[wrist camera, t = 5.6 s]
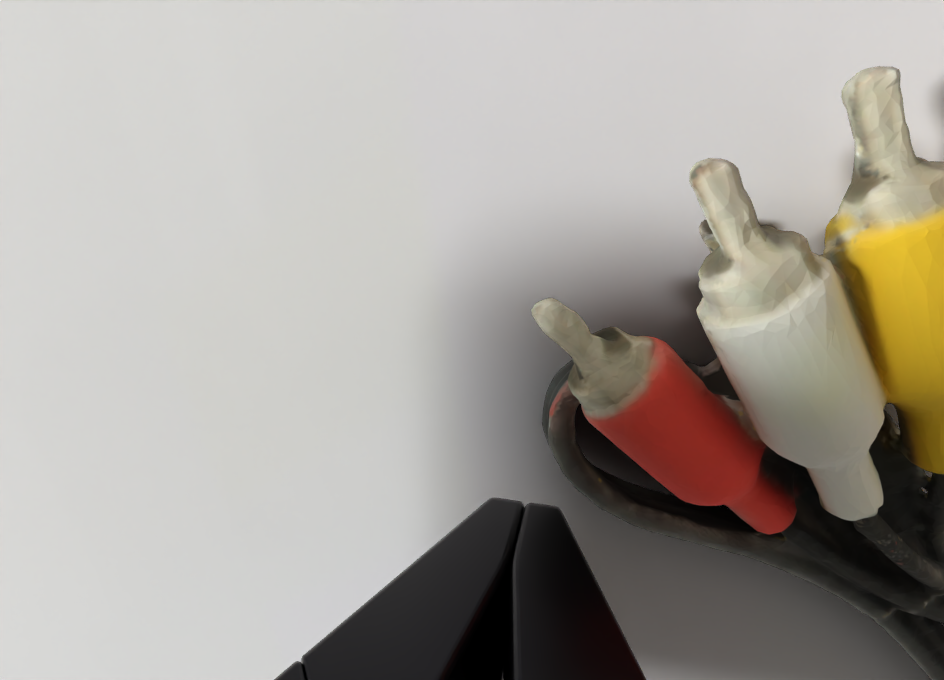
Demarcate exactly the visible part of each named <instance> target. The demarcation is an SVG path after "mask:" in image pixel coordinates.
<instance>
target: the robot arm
mask: <svg viewBox="0 0 944 680" xmlns="http://www.w3.org/2000/svg"><path fill="white" fill-rule="evenodd" d="M274 680H646V678H645V676H644V674H643V672H642V670H641V668H640V666H639V664H638V662H637V660H636V658H635V656H634V654H633V652H632V650H631V648H630V646H629V644H628V642H627V640H626V638H625V636H624V634H623V632H622V630H621V628H620V626H619V624H618V622H617V620H616V618H615V616H614V614H613V612H612V610H611V608H610V606H609V604H608V602H607V600H606V598H605V596H604V595H603V593H602V591H601V589H600V587H599V585H598V583H597V581H596V579H595V577H594V575H593V573H592V571H591V569H590V567H589V565H588V563H587V561H586V559H585V557H584V555H583V553H582V551H581V549H580V547H579V545H578V543H577V541H576V539H575V537H574V535H573V533H572V531H571V529H570V527H569V525H568V523H567V521H566V519H565V517H564V515H563V513H562V511H561V510H560V509H559V508H558V507H556V506H550V505H543V504H536V503H529V504H527V505H526V506H525V508H524V505H523V503H522V502H520V501H515V500H508V499H501V498H491V499H489V500H487V501H486V502H485V503H484V504H483V505H482V506H480V507H479V508H478V509H477V510H476V511H474V512H473V513H472V514H471V515H470V516H468V517H467V518H466V519H465V520H464V521H463V522H461V523H460V524H459V525H458V526H457V527H455V528H454V529H453V530H452V531H451V532H449V533H448V534H447V535H446V536H445V537H444V538H442V539H441V540H440V541H439V542H438V543H436V544H435V545H434V546H433V547H432V548H430V549H429V550H428V551H427V552H426V553H425V554H423V555H422V556H421V557H420V558H419V559H417V560H416V561H415V562H414V563H413V564H411V565H410V566H409V567H408V568H407V569H406V570H404V571H403V572H402V573H401V574H400V575H398V576H397V577H396V578H395V579H394V580H392V581H391V582H390V583H389V584H388V585H387V586H385V587H384V588H383V589H382V590H381V591H379V592H378V593H377V594H376V595H375V596H373V597H372V598H371V599H370V600H369V601H368V602H366V603H365V604H364V605H363V606H362V607H360V608H359V609H358V610H357V611H356V612H354V613H353V614H352V615H351V616H350V617H349V618H347V619H346V620H345V621H344V622H343V623H341V624H340V625H339V626H338V627H337V628H335V629H334V630H333V631H332V632H331V633H330V634H328V635H327V636H326V637H325V638H324V639H322V640H321V641H320V642H319V643H318V644H316V645H315V646H314V647H313V648H312V649H311V650H309V651H308V652H307V653H306V654H305V655H303V657H302V659H301V662H299V661H297V662H295V663H293V664H292V665H291V666H290V667H289V668H287V669H286V670H285V671H284V672H283V673H282V674H280V675H279V676H278V677H277V678H276V679H274Z"/></svg>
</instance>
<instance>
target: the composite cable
mask: <svg viewBox="0 0 944 680" xmlns="http://www.w3.org/2000/svg"><path fill="white" fill-rule="evenodd" d="M842 101H843V104H844V106H845V107H846V109H847V113H848V118H849V122H850V126H851V130H852V134H853V138H854V140H855V158H854V169H853V175H852V181H851V184H850V186H849V188H848V190H847V192H846V194H845V196H844V198H843V200H842V202H841V205H840V207H839V210H838V213H837V214H836V215H835V216H834V217H833V218H832V219H831V221H830V222H829V224H828V225H827V227H826V232H825V250H824V254H823V255H820V256H819V255H817V254H815V253H812V252H811V249H810V246H809V244H808V241H807V239H806V238H805V237H804V236H803V235H801V234H799V233H796V232H793V231H781V230H777V229H776V228H774V227H771V226H768V225H765V226H759V224H758V220H757V216H756V213H755V210H754V207H753V204H752V202H751V199H750V197H749V196H748V194H747V192H746V191H745V189H744V187H743V184H742V181H741V177H740V174H739V170H738V168H737V167H736V166H735V165H734V164H733V163H731V162H729V161H727V160H723V159H713V158H708V159H705V160H702V161H700V162H697V163H696V164H695V165H694V166H693V167H692V168H691V171H690V177H689V182H690V184H691V186H692V188H693V189H694V191H695V193H696V196H697V199H698V201H699V203H700V206H701V208H702V211H703V213H704V215H705V218H706V220H704V221H703V222H701V224H700V226H699V230H700V234H701V236H702V238H703V240H704V242H705V244H706V245H707V247H708V248H709V250H710V253H711V254H709V255H708V256H707V257H706V259H705V260H704V262H703V264H702V266H701V268H700V270H699V273H698V275H699V278H700V281H699V289H700V290H701V292H702V295H703V298H702V300H701V302H700V304H699V306H698V307H697V310H696V311H697V315H698V317H699V320H700V322H701V324H702V326H703V328H704V331H705V333H706V335H707V337H708V339H709V341H710V343H711V345H712V346H713V348H714V350H715V352H716V354H717V356H718V357H717V358H716V359H715V360H713V361H712V362H710V363H709V364H708V365H706V366H703V367H700V366H698V365H695V364H693V363H690V362H688V361H685V360H683V359H681V358H680V357H679V356H678V354H677V353H676V352H675V351H674V350H673V349H672V348H671V347H670V346H669V345H668V344H667V343H666V342H664V341H662V340H660V339H658V338H655V337H649V336H632V335H629V334H628V333H626V332H624V331H622V330H621V329H619V328H617V327H609V328H604V329H602V330H600V331H598V332H596V333H594V334H591V333H590V331H589V328H588V326H587V325H586V323H585V322H584V320H583V319H582V318H581V317H580V316H579V315H578V314H577V313H576V312H575V311H573V310H571V309H569V308H568V307H566V306H564V305H563V304H562V303H560V302H559V301H558V300H556V299H553V298H547V299H544V300H541V301H540V302H538V303H536V304H535V305H534V307H533V308H532V310H531V313H532V316H533V318H534V319H535V321H536V323H537V324H538V326H539V327H540V328H541V329H542V331H543V332H544V333H545V334H546V335H547V336H548V337H550V338H551V339H552V340H553V341H554V342H556V343H557V344H558V345H559V346H560V347H561V348H562V349H564V350H565V351H566V352H567V353H568V354H569V355H570V356H571V357H572V359H573V360H572V361H570V362H569V363H567V364H566V365H565V366H564V367H563V368H562V369H561V370H560V371H559V372H558V373H557V374H556V376H555V377H554V378H553V380H552V382H551V384H550V386H549V388H548V390H547V393H546V397H545V402H544V408H543V419H542V425H543V429H544V433H545V435H546V438H547V441H548V444H549V446H550V448H551V450H552V453H553V455H554V457H555V459H556V461H557V462H558V464H559V466H560V468H561V470H562V472H563V473H564V475H565V476H566V477H567V479H568V480H569V481H570V482H571V483H572V484H573V485H574V487H575V488H576V489H577V490H578V491H579V492H581V493H582V494H584V495H585V496H586V497H587V498H588V499H589V500H590V501H592V502H593V503H594V504H595V505H597V506H598V507H599V508H601V509H602V510H605V511H607V512H609V513H611V514H613V515H614V516H616V517H618V518H620V519H622V520H624V521H626V522H628V523H630V524H632V525H634V526H637V527H640V528H643V529H646V530H649V531H651V532H655V533H660V534H663V535H666V536H669V537H675V538H679V539H682V540H686V541H690V542H694V543H697V544H701V545H705V546H708V547H711V548H714V549H718V550H723V551H728V552H732V553H736V554H742V555H744V556H747V557H749V558H753V559H756V560H759V561H761V562H763V563H766V564H769V565H771V566H774V567H777V568H780V569H782V570H785V571H786V572H789V573H791V574H793V575H795V576H797V577H799V578H802V579H805V580H807V581H809V582H811V583H813V584H815V585H817V586H819V587H821V588H822V589H824V590H826V591H828V592H830V593H832V594H834V595H836V596H838V597H840V598H842V599H843V600H845V601H847V602H848V603H849V604H850V605H852V606H854V607H855V608H856V609H858V610H859V611H860V612H862V613H863V614H867V615H868V616H870V617H871V618H872V619H873V620H874V621H875V622H876V623H877V624H879V625H880V626H881V627H883V628H884V629H885V630H886V632H887V633H888V634H889V635H890V636H891V637H893V638H894V639H895V640H896V641H897V642H898V643H899V644H900V645H901V646H902V647H903V649H904V650H905V651H906V652H907V653H908V654H909V655H910V656H911V658H912V659H913V660H914V661H915V662H916V663H917V664H918V665H919V666H920V667H921V669H922V670H923V671H924V672H925V673H926V674H927V675H928V677H930V679H931V680H944V626H943V625H942V624H941V623H940V622H942V623H944V162H934V161H930V162H929V161H927V160H925V159H923V158H919V157H916V156H915V154H914V151H913V148H912V145H911V140H910V133H909V129H908V126H907V124H906V121H905V115H904V107H903V98H902V94H901V89H900V71H899V69H897V68H894V67H880V66H879V67H873V68H868V69H865V70H862V71H860V72H859V73H857V74H856V75H855V76H854V77H852V78H851V79H850V80H849V81H847V82H846V84H845V86H844V87H843V89H842ZM887 403H892V404H893V405H894V406H895V408H896V411H897V415H898V421H899V428H900V429H899V428H898V427H897V426H896V425H895V424H894V422H893V420H892V418H891V417H890V415H889V414H888V413H887V412H886V411H885V409H884V407H885V405H886V404H887ZM579 404H581V408H582V411H583V413H584V416H585V417H586V419H587V420H588V421H589V423H590V424H592V425H593V426H594V427H595V428H596V429H597V430H599V431H600V432H601V433H602V434H603V435H604V436H606V437H607V438H608V439H609V440H610V441H611V442H612V443H614V444H615V445H616V446H617V447H618V448H619V449H620V450H622V451H623V452H624V453H625V454H626V455H628V456H629V457H630V458H631V459H632V460H633V461H635V462H636V463H637V464H638V465H639V466H640V467H642V468H643V469H644V470H645V471H646V472H647V473H649V474H650V475H651V476H652V477H653V478H654V479H656V480H657V481H658V482H659V483H660V484H662V485H663V486H664V487H665V488H667V489H668V490H669V491H670V492H672V493H673V494H674V495H676V496H672V495H668V494H665V493H662V492H659V491H656V490H651V489H647V488H645V487H642V486H639V485H635V484H632V483H630V482H627V481H624V480H622V479H619V478H617V477H615V476H613V475H611V474H608V473H607V472H605V471H603V470H601V469H599V468H597V467H596V466H594V465H593V464H591V463H590V461H589V460H588V459H587V458H586V457H585V456H584V454H583V452H582V451H581V449H580V447H579V446H578V444H577V443H576V440H575V421H574V419H575V413H576V409H577V407H578V405H579ZM924 470H926V471H929V472H933V474H932V477H928V476H926V474H925V472H924ZM921 487H924V488H925V489H926V490H927V491H928V493H927V494H926V493H924V492H923V491H922V489H921ZM718 505H726V506H727V507H728V508H730V509H731V510H728V509H724V508H720V507H716V506H718Z"/></svg>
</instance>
